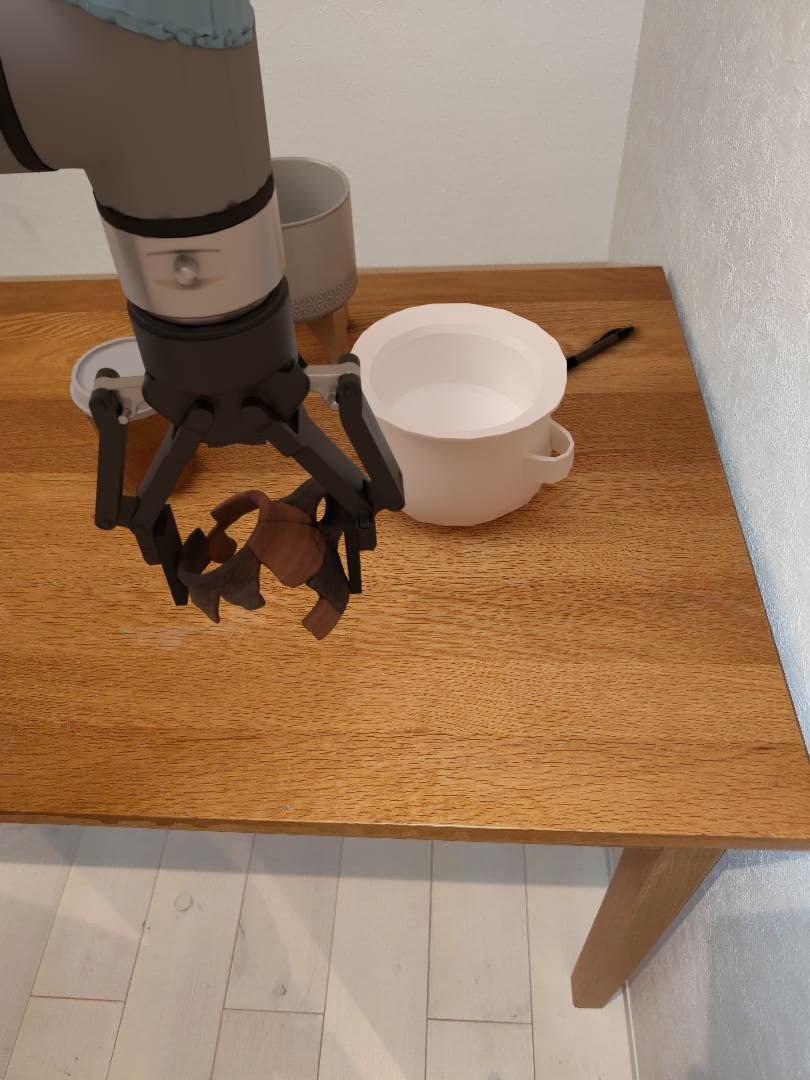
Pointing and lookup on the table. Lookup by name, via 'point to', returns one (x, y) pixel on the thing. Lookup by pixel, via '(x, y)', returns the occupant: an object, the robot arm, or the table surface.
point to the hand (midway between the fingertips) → (269, 583)
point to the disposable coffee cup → (147, 423)
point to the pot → (466, 408)
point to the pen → (599, 345)
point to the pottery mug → (271, 555)
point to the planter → (317, 247)
